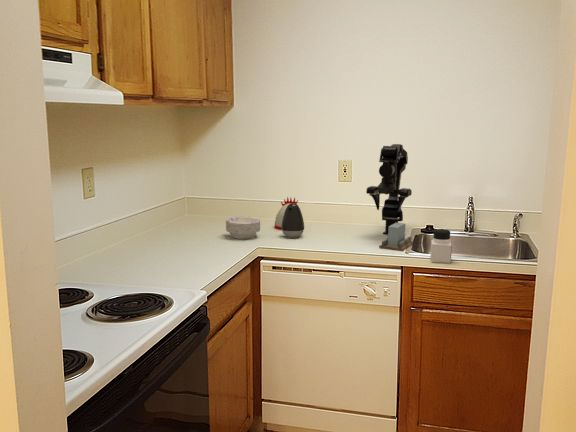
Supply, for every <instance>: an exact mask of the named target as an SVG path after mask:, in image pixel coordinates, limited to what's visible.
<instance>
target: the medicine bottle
mask: <svg viewBox="0 0 576 432" xmlns="http://www.w3.org/2000/svg"><path fill="white" fill-rule="evenodd" d="M432 237H433V239H431V241H430V261H431V263H437V264H438V263H439V264H451V263H452V249H453V248H452V246H453V245H452V242H451V231H450V229H447V228H435V229H434V230H433V236H432Z"/></svg>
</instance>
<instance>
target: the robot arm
mask: <svg viewBox="0 0 576 432" xmlns="http://www.w3.org/2000/svg"><path fill="white" fill-rule="evenodd" d="M408 157H409V156H408V151H406V150H405V149H404V145H403V144H402V143H399V144H397V143H393V144H391V145H383V146H382V147H381V149H380V154H379V161H378V162H379V163H382V165H380V166H379V168H378V173H379V175H380V177H381V181H380V183H379V184H378V185H377V186H375V185H371V186H368V187H367V188H366V191H365V192H366V194H367V195H368V196H370V197H372V199H373V201H374V204H375V207H376V210H377V211H379V210H380V201H381V200H380V198H381V197H380V196H381V195H382V194H383V195H388V198H387V199H385V200H384V203H383V206H382V208H381V221H385V227H384V228H385V230H384V231H383V232H382V234H384V235H385V234H386V235H388V228H389V226H391V225H393V224H394V223H399V222H403V219H404V214H403V213H404V211H402V206H403V203H404V202H405V200H406V198H409V197H411V196H412V195H413V194H412V193H413V192H412V189H411V188H405V187H403V188H400V187H401V186H400V185H401V179H402V173H403V172H405V170H406V166H407V165H408V164H409V163H408V161H409V158H408Z"/></svg>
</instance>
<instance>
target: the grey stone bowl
mask: <svg viewBox="0 0 576 432" xmlns="http://www.w3.org/2000/svg"><path fill="white" fill-rule="evenodd" d="M225 231H226V232H228V233H230V236H231V237H232V238H234V239H239V240H248V239H252V238H254V237H255V236H256V235H257V233H259V232H261V219H259V218H258V217H252V216H251V217H250V216H232V217H229V218H227V219H226V220H225Z"/></svg>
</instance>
